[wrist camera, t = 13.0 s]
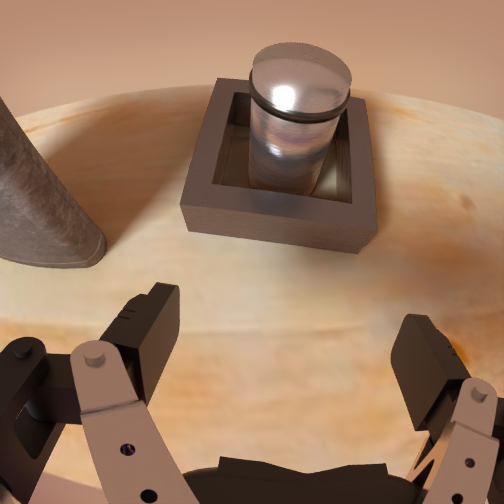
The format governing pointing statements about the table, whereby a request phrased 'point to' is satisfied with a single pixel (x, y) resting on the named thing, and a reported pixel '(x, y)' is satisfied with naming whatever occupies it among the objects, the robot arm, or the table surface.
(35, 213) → the flask
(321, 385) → the table surface
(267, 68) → the silver metal cylinder
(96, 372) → the robot arm
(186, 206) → the square frame
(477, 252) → the table surface
